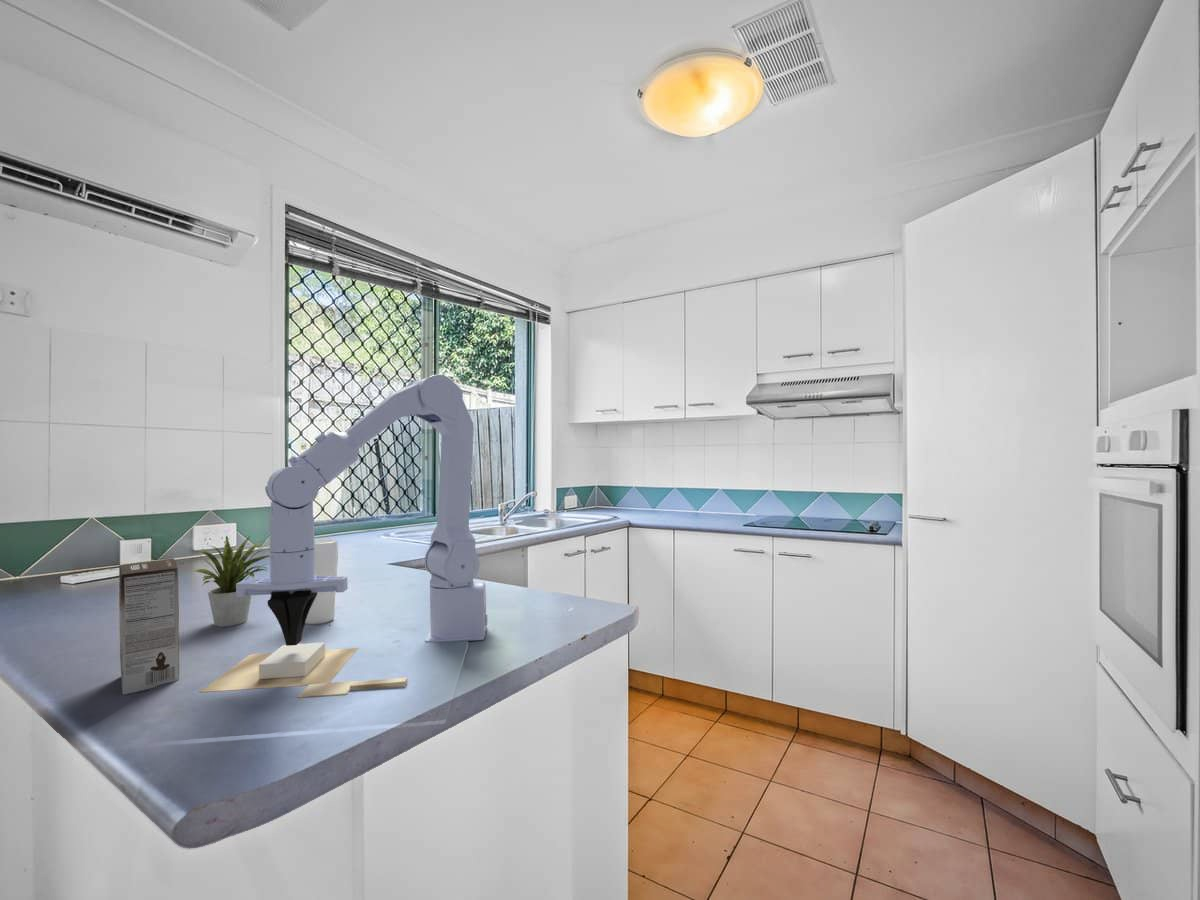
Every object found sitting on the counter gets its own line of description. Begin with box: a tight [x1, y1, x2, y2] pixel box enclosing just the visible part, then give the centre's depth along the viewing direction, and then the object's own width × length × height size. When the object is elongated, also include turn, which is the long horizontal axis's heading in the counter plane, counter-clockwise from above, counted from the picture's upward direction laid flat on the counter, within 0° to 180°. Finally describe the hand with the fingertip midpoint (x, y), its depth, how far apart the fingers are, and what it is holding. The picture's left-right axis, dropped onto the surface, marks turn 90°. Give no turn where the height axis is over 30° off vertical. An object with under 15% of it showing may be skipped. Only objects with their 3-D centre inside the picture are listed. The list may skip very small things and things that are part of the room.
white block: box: [259, 642, 326, 679], centre depth 82 cm, size 2×8×6 cm
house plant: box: [193, 535, 270, 628], centre depth 105 cm, size 14×14×16 cm
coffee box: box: [118, 558, 180, 696], centre depth 80 cm, size 9×6×16 cm
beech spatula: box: [296, 676, 408, 699], centre depth 75 cm, size 13×4×1 cm, turn 98°
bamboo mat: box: [199, 647, 359, 693], centre depth 82 cm, size 16×14×1 cm
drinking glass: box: [303, 538, 339, 626], centre depth 106 cm, size 7×7×15 cm
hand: (293, 643), depth 82 cm, fingers closed
